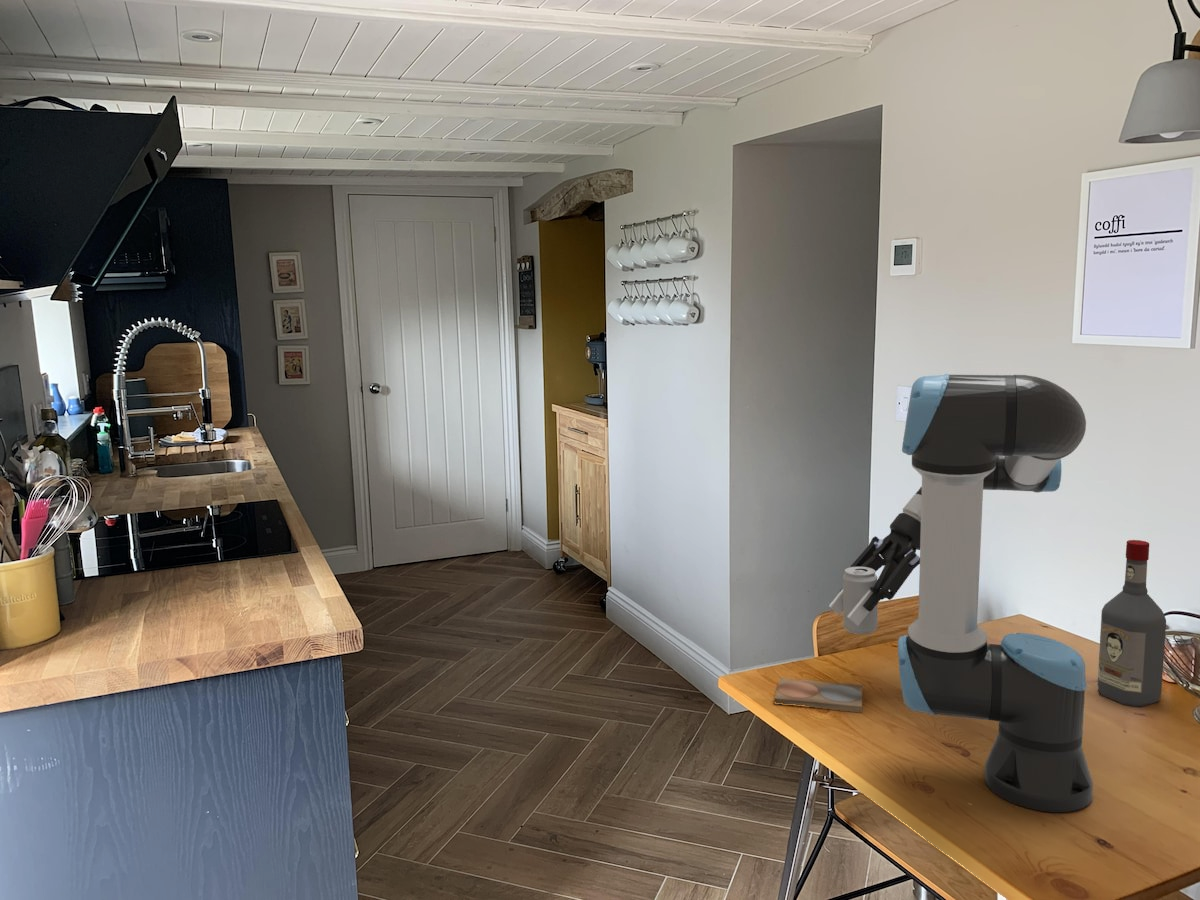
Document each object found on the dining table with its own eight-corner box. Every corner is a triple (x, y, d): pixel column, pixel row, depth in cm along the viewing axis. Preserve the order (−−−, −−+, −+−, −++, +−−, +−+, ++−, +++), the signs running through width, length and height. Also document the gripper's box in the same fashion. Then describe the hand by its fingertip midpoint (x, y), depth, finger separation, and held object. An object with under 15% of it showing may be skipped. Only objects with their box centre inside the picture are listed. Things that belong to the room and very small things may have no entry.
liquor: (1123, 682, 179) (1132, 534, 175) (1167, 700, 171) (1178, 544, 166) (1090, 691, 176) (1098, 539, 171) (1133, 709, 167) (1143, 551, 163)
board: (861, 712, 169) (861, 706, 169) (774, 704, 174) (774, 697, 174) (862, 691, 179) (862, 684, 178) (779, 683, 183) (779, 677, 183)
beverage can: (881, 627, 177) (881, 567, 176) (871, 638, 172) (871, 576, 170) (849, 622, 181) (849, 563, 179) (838, 632, 176) (837, 572, 174)
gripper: (960, 546, 169) (883, 643, 167) (900, 524, 187) (830, 612, 185) (936, 521, 167) (857, 619, 165) (877, 502, 185) (806, 590, 183)
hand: (843, 615), depth 175 cm, fingers closed on beverage can, 6 cm apart
